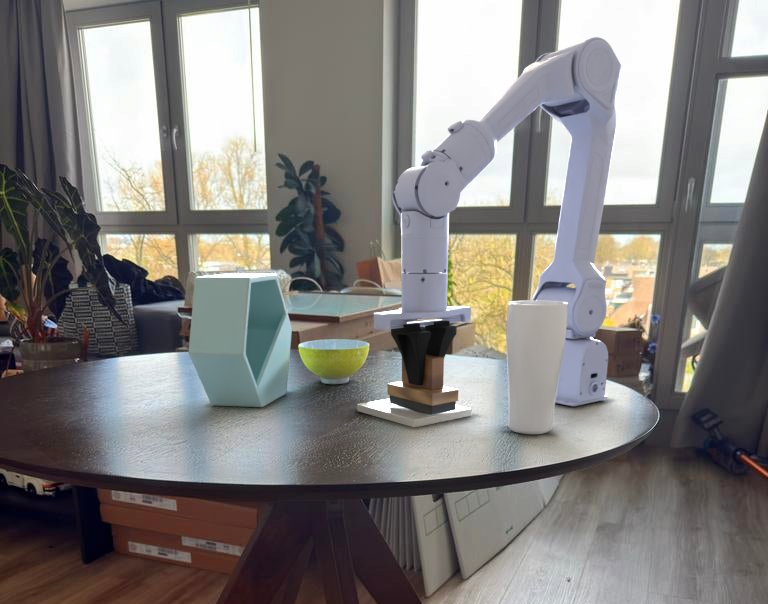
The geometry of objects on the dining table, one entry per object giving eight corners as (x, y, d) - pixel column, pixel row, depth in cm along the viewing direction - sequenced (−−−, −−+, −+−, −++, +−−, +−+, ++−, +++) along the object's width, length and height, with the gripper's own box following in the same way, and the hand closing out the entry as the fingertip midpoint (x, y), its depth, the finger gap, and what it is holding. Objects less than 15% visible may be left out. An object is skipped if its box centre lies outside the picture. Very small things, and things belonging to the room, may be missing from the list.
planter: (272, 434, 105) (231, 320, 89) (222, 431, 107) (173, 318, 90) (299, 355, 115) (267, 239, 98) (253, 353, 116) (214, 239, 100)
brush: (457, 410, 93) (459, 357, 91) (431, 415, 90) (432, 361, 88) (412, 399, 100) (413, 349, 97) (387, 403, 97) (387, 353, 95)
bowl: (339, 391, 111) (337, 350, 109) (285, 383, 118) (283, 344, 116) (383, 380, 120) (383, 342, 118) (331, 373, 126) (330, 337, 124)
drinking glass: (546, 440, 83) (556, 305, 78) (492, 432, 87) (498, 303, 81) (566, 427, 89) (576, 301, 83) (514, 421, 92) (521, 299, 87)
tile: (471, 415, 95) (472, 408, 95) (413, 427, 89) (413, 419, 89) (413, 401, 104) (413, 394, 104) (357, 411, 98) (356, 404, 98)
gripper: (445, 270, 96) (443, 372, 101) (357, 273, 88) (360, 385, 93) (483, 271, 91) (479, 379, 96) (394, 275, 83) (394, 393, 87)
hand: (423, 382), depth 94 cm, fingers closed on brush, 2 cm apart
